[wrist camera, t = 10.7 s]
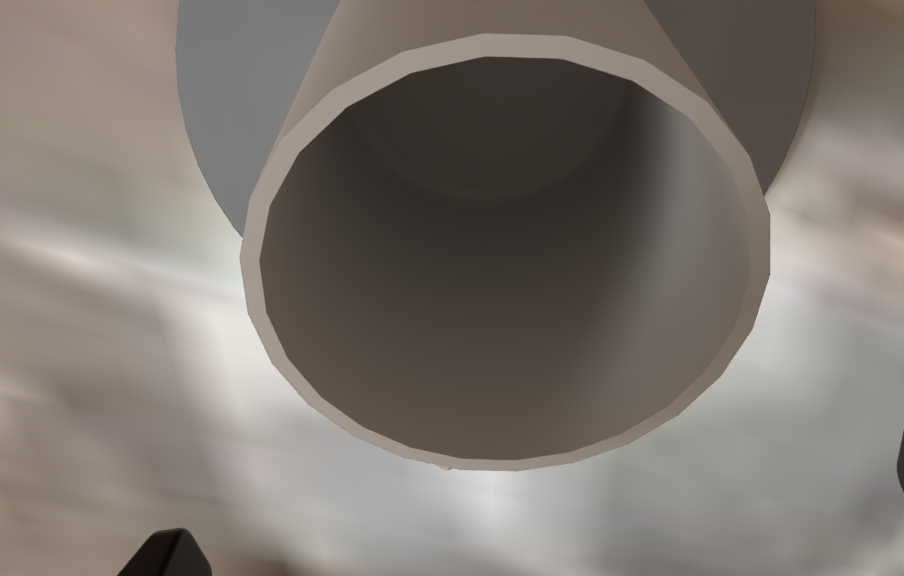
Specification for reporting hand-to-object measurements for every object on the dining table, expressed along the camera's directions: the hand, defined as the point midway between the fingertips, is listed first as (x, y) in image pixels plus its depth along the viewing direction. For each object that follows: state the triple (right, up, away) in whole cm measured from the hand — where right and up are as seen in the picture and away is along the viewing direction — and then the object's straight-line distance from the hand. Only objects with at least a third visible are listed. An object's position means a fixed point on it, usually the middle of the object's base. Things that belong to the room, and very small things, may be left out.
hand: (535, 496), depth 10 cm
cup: (0, +7, +9) cm, 11 cm away
